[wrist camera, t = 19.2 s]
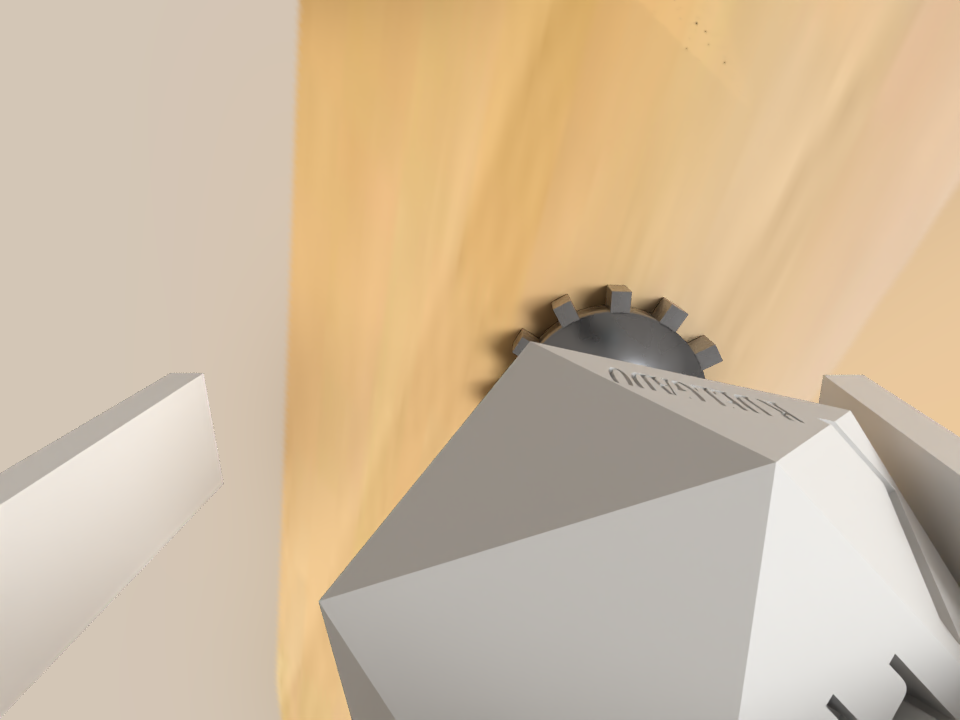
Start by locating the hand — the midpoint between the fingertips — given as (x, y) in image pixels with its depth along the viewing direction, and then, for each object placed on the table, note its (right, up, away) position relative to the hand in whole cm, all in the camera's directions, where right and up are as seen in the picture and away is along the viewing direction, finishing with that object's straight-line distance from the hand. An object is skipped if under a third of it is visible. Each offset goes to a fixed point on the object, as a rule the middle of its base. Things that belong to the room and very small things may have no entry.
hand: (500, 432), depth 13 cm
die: (+3, -1, +1) cm, 3 cm away
